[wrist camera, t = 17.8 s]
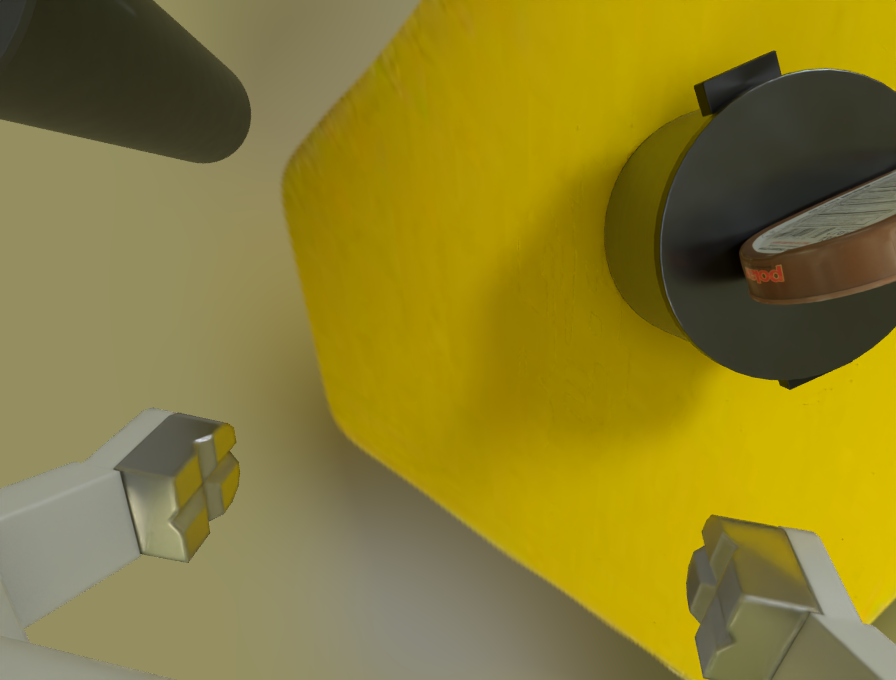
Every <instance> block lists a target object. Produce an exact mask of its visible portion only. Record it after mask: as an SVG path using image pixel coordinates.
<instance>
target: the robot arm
mask: <svg viewBox="0 0 896 680" xmlns="http://www.w3.org/2000/svg"><path fill="white" fill-rule="evenodd" d="M235 443H236V438H235V431H234V427H232V426H231V425H230V424H228V423H224V422H220V421H215V420H210V419H206V418H200V417H196V416H192V415H187V414H182V413H174V412H170V411H166V410H161V409H156V408H150V409H146V410H143V411H142V412H141V413H140V414H139V415H137V416H136V417H135V418H134V419H133V420H132V421H130V422H129V423H128V424H127V425H126V426H125V427H123V428H122V429H121V430H120V431H119V432H118V433H117V434H115V435H114V436H113V437H112V438H111V439H110V440H109V441H107V442H106V443H105V444H104V445H103V446H102V447H100V448H99V449H98V450H97V451H96V452H95V453H94V454H92V456H90V457H89V458H88V459H87V460H86V461H85V462H83V463H77V462H72V463H69V464H67V465H64V466H61V467H58V468H56V469H53V470H50V471H47V472H45V473H42V474H39V475H36V476H33V477H31V478H28V479H26V480H23V481H20V482H17V483H14V484H11V485H9V486H6V487H3V488H0V680H175V679H171V678H167V677H163V676H158V675H155V674H151V673H147V672H143V671H139V670H135V669H131V668H127V667H123V666H119V665H115V664H111V663H107V662H103V661H99V660H95V659H91V658H88V657H84V656H80V655H75V654H71V653H68V652H64V651H60V650H56V649H52V648H48V647H44V646H40V645H36V644H32V643H30V642H29V639H28V637H27V635H26V633H25V630H24V629H25V628H27V627H28V626H30V625H32V624H33V623H35V622H36V621H38V620H40V619H41V618H43V617H44V616H46V615H48V614H49V613H51V612H52V611H54V610H56V609H57V608H59V607H61V606H62V605H64V604H65V603H67V602H69V601H70V600H72V599H73V598H75V597H77V596H78V595H80V594H81V593H83V592H85V591H86V590H88V589H90V588H91V587H93V586H94V585H96V584H97V583H99V582H101V581H102V580H104V579H106V578H107V577H109V576H110V575H112V574H114V573H115V572H117V571H119V570H120V569H122V568H123V567H125V566H126V565H128V564H130V563H131V562H133V561H135V560H136V559H138V558H139V557H140V556H141V555H140V554H144V555H149V556H154V557H159V558H165V559H170V560H175V561H180V562H185V563H189V561H190V560H191V558H192V557H193V556H194V554H195V553H196V552H197V550H198V549H199V547H200V546H201V545H202V543H203V542H204V541H205V539H206V538H207V537H208V535H209V534H210V528H209V521H211V520H213V519H215V518H217V517H219V516H221V515H223V514H224V513H225V512H226V510H227V509H228V507H229V506H230V504H231V503H232V501H233V499H234V496H235V494H236V491H237V488H238V485H239V477H240V469H239V462H238V461H237V459H236V458H235V457H234V456H233V454H232V453H231V452H230V450H231V448H232V447H233V446H234V445H235ZM702 535H703V540H704V544H705V546H703V547H701V548H699V549H698V550H696V551H694V552H693V555H692V558H691V561H690V564H689V567H688V574H687V582H686V588H687V600H688V605H689V611H690V613H691V614H692V615H693V616H694V617H695V618H696V620H697V621H698V622H699V623H700V626H699V629H698V631H697V633H696V636H695V641H696V646H697V650H698V655H699V660H700V665H701V669H702V674H703V678H705V679H709V680H896V644H894V643H893V642H892V641H891V640H890V639H888V638H887V637H886V636H885V635H884V634H883V633H882V632H880V631H879V630H878V629H877V628H876V627H875V626H872V625H868V624H864V623H862V621H861V619H860V617H859V615H858V613H857V611H856V609H855V607H854V605H853V603H852V601H851V599H850V597H849V595H848V593H847V591H846V589H845V587H844V585H843V583H842V581H841V579H840V577H839V575H838V573H837V571H836V569H835V567H834V565H833V563H832V561H831V559H830V557H829V555H828V553H827V551H826V549H825V547H824V545H823V543H822V541H821V539H820V537H819V536H818V535H816V534H815V533H814V532H811V531H805V530H799V529H794V528H788V527H782V526H778V527H776V526H773V525H767V524H762V523H756V522H751V521H745V520H740V519H734V518H729V517H723V516H718V515H711V516H710V517H709V518H708V519H707V520H706V523H705V525H704V528H703V530H702Z"/></svg>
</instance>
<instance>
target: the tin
mask: <svg viewBox="0 0 896 680" xmlns="http://www.w3.org/2000/svg"><path fill="white" fill-rule="evenodd" d="M739 255H740V260H741V265H742V268H743V271H744V274H745V277H746V280H747V283H748V286H749V291H748V292H749V296H750V297H751V298H752V299H753V300H755V301H757V302H761V303H765V304H774V305H776V304H778V305H789V304H801V303H811V302H817V301H824V300H829V299H835V298H839V297H843V296H847V295H852V294H855V293H859V292H863V291H867V290H870V289H873V288H877V287H880V286H883V285H886V284H889V283H892V282H894V281H896V169H895V170H893V171H891V172H889V173H886V174H884V175H882V176H880V177H877V178H875V179H873V180H870V181H868V182H866V183H864V184H861V185H859V186H857V187H854V188H852V189H850V190H848V191H845V192H843V193H841V194H838V195H836V196H834V197H832V198H830V199H827V200H825V201H823V202H821V203H819V204H816V205H814V206H812V207H810V208H808V209H805V210H803V211H801V212H799V213H797V214H795V215H792V216H790V217H788V218H786V219H784V220H782V221H779V222H777V223H775V224H773V225H771V226H769V227H767V228H765V229H764V230H762V231H760V232H758V233H757V234H755V235H753V236H752V237H751V238H749V239H748V240H747V241H746V242H745V243H744V244H743V245H742V246H741V248H740V251H739Z"/></svg>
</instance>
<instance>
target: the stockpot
mask: <svg viewBox="0 0 896 680" xmlns="http://www.w3.org/2000/svg"><path fill="white" fill-rule="evenodd" d="M694 89H695V92H696V96H697V99H698V103H699V106H700V110H697V111H694V112H691V113H689V114H686V115H683V116H680V117H678V118H677V119H675V120H673V121H671V122H669V123H667V124H666V125H664V126H663V127H661V128H660V129H658V130H657V131H656V132H654V133H653V134H652V135H651V136H650V137H649V138H648V139H646V140H645V141H644V142H643V143H642V144H641V145H640V146H639V148H638V149H637V150H636V151H635V152H634V153H633V155H632V156H631V157H630V159H629V160H628V162H627V163H626V165H625V166H624V168H623V169H622V171H621V173H620V175H619V177H618V179H617V181H616V183H615V186H614V188H613V191H612V194H611V197H610V200H609V204H608V208H607V212H606V220H605V229H604V231H605V250H606V257H607V262H608V265H609V269H610V273H611V275H612V277H613V280H614V282H615V284H616V287H617V288H618V290H619V292H620V293H621V295H622V296H623V298H624V299H625V301H626V302H627V303H628V304H629V305H630V307H631V308H632V309H633V310H634V311H635V312H636V313H637V314H638V315H640V316H641V317H642V318H643V319H645V320H646V321H648V322H649V323H651V324H652V325H654V326H656V327H658V328H660V329H662V330H664V331H666V332H668V333H671V334H673V335H675V336H678V337H680V338H682V339H684V340H687V341H689V342H690V343H691V344H692V345H693V346H695V347H696V348H697V349H698V350H699V351H700V352H701V353H703V354H704V355H705V356H707V357H708V358H710V359H711V360H713V361H714V362H716V363H718V364H720V365H722V366H724V367H727V368H729V369H731V370H733V371H735V372H738V373H741V374H744V375H747V376H750V377H755V378H761V379H767V380H778V381H779V384H780V386H782V387H785V388H787V389H789V390H791V389H793V388H795V387H797V386H800V385H802V384H804V383H806V382H809V381H811V380H813V379H815V378H817V377H820V376H822V375H824V374H826V373H828V372H831V371H833V370H835V369H837V368H840V367H842V366H844V365H846V364H848V363H851V362H852V361H853V360H855V359H857V358H858V357H860V356H861V355H863V354H864V353H866V352H867V351H868V350H870V349H871V348H873V347H874V346H875V345H876V344H878V343H879V342H880V341H881V340H882V339H883V338H885V337H886V336H887V335H888V334H889V333H890V332H891V331H892V330H893V329H894V328H895V327H896V281H894V282H892V283H889V284H886V285H883V286H880V287H877V288H873V289H870V290H867V291H863V292H859V293H855V294H852V295H847V296H843V297H839V298H835V299H829V300H824V301H817V302H811V303H801V304H789V305H778V304H776V305H774V304H765V303H761V302H757V301H755V300H753V299H752V298H751V297H750V296H749V292H748V291H749V286H748V283H747V280H746V277H745V274H744V271H743V268H742V265H741V260H740V255H739V251H740V248H741V246H742V245H743V244H744V243H745V242H746V241H747V240H748V239H749V238H751V237H752V236H753V235H755V234H757V233H758V232H760V231H762V230H764V229H765V228H767V227H769V226H771V225H773V224H775V223H777V222H779V221H782V220H784V219H786V218H788V217H790V216H792V215H795V214H797V213H799V212H801V211H803V210H805V209H808V208H810V207H812V206H814V205H816V204H819V203H821V202H823V201H825V200H827V199H830V198H832V197H834V196H836V195H838V194H841V193H843V192H845V191H848V190H850V189H852V188H854V187H857V186H859V185H861V184H864V183H866V182H868V181H870V180H873V179H875V178H877V177H880V176H882V175H884V174H886V173H889V172H891V171H893V170H895V169H896V91H894V90H892V89H891V88H889V87H888V86H886V85H885V84H883V83H882V82H879V81H877V80H875V79H872V78H870V77H868V76H865V75H863V74H859V73H855V72H851V71H847V70H838V69H827V68H824V69H808V70H802V71H797V72H793V73H788V74H784V75H781V71H780V67H779V63H778V59H777V55H776V51H771V52H769V53H766V54H764V55H761V56H759V57H757V58H755V59H752V60H750V61H748V62H746V63H743V64H741V65H739V66H737V67H734V68H732V69H730V70H728V71H725V72H723V73H721V74H719V75H716V76H714V77H712V78H710V79H707V80H705V81H703V82H701V83H698V84H696V85H695V86H694Z"/></svg>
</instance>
